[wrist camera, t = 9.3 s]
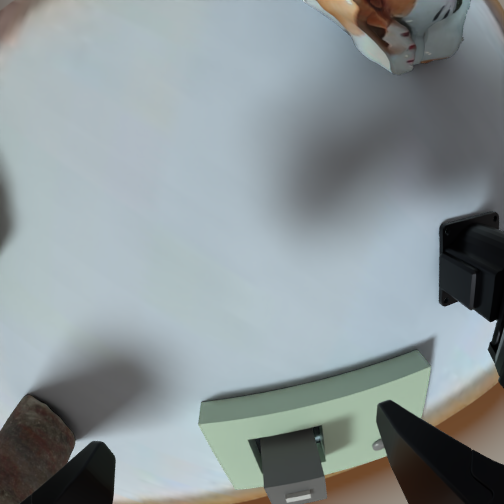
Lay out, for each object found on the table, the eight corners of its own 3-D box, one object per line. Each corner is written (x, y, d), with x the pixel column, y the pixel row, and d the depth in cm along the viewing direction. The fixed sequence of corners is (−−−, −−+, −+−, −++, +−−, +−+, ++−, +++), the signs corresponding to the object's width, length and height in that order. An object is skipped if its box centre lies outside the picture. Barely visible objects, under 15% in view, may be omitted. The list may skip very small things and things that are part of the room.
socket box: (417, 349, 22) (432, 368, 19) (405, 428, 25) (415, 447, 22) (201, 402, 22) (197, 427, 19) (235, 470, 25) (235, 492, 22)
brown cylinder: (77, 411, 22) (3, 577, 3) (85, 450, 24) (35, 590, 5) (16, 383, 22) (-73, 517, 2) (29, 425, 24) (-34, 546, 4)
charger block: (307, 411, 23) (325, 480, 16) (312, 438, 24) (328, 502, 17) (258, 421, 23) (264, 492, 16) (267, 447, 24) (274, 512, 17)
